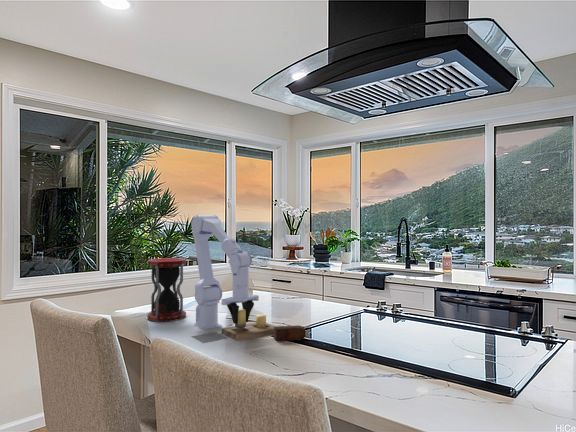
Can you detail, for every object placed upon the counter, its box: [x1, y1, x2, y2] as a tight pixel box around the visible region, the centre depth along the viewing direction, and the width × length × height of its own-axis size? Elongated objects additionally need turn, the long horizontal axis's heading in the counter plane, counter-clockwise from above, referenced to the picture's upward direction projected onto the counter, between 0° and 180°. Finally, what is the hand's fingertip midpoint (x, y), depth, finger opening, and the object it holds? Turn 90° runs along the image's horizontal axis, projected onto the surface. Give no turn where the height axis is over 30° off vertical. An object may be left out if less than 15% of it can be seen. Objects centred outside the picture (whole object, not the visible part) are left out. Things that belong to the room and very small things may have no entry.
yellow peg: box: [234, 308, 247, 328], centre depth 151 cm, size 4×4×6 cm
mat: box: [190, 331, 229, 344], centre depth 148 cm, size 10×10×1 cm
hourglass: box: [146, 257, 187, 323], centre depth 179 cm, size 16×16×25 cm
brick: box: [273, 324, 306, 342], centre depth 146 cm, size 11×4×5 cm, turn 106°
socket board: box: [221, 321, 276, 342], centre depth 154 cm, size 12×18×2 cm, turn 127°
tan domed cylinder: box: [255, 314, 267, 329], centre depth 157 cm, size 4×4×6 cm
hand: (240, 322), depth 151 cm, fingers closed on yellow peg, 4 cm apart
